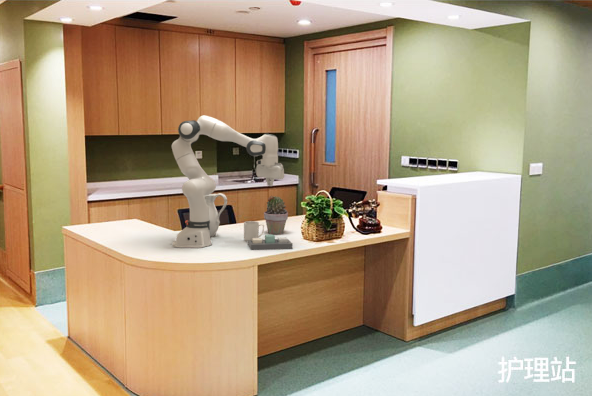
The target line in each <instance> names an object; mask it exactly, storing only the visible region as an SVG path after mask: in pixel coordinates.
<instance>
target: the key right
mask: <svg viewBox="0 0 592 396" xmlns="http://www.w3.org/2000/svg"><path fill="white" fill-rule="evenodd" d="M277 239H278V243H287V242H288V240H289V239H288V238H287V236H286V237H277Z"/></svg>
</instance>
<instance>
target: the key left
mask: <svg viewBox="0 0 592 396" xmlns="http://www.w3.org/2000/svg"><path fill="white" fill-rule="evenodd" d="M262 240H263V238H261V237H259V238H252V243H262Z"/></svg>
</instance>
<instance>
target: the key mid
mask: <svg viewBox="0 0 592 396" xmlns="http://www.w3.org/2000/svg"><path fill="white" fill-rule="evenodd" d="M275 239H276V236H275V234H264V240H265V242H266V243H275Z"/></svg>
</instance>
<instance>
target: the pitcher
mask: <svg viewBox="0 0 592 396" xmlns="http://www.w3.org/2000/svg"><path fill="white" fill-rule="evenodd" d="M204 197H205V202H206V204H207V205H208V207H209V220H210V230H209V231H210V238H211V237H214V236H216V234H217V232H218V230H219V227H220V224H221V221H220V216H221V214H222V213H223V211H224V210H225V209H226V208H227V204H228V198H227V196H226V194H225V193H219V192H218V193H211V194H209V195H206V196H204ZM217 197H222V199H223V202H224V203H223V206H222V207H221V209H220V210H219V211H218V210H217V208H216V205H215V201H216V199H217Z"/></svg>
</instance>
